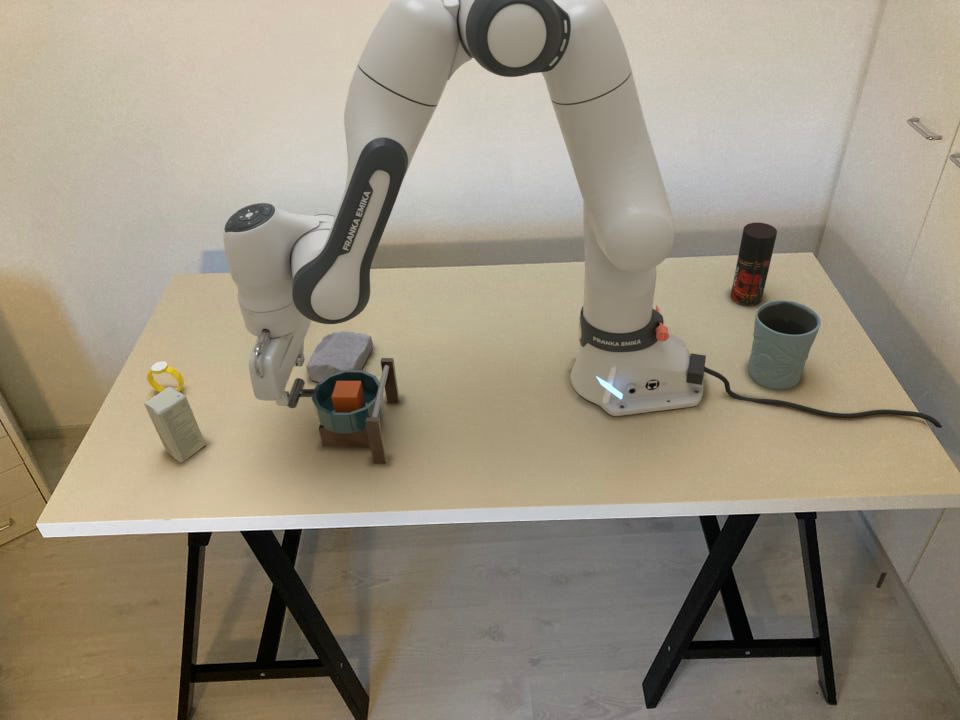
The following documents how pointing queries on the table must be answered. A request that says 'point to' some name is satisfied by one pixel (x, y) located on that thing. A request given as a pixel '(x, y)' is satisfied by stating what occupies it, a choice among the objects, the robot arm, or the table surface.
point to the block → (347, 396)
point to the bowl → (324, 403)
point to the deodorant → (753, 263)
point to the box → (175, 423)
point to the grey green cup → (781, 343)
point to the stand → (367, 423)
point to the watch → (161, 368)
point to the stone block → (339, 354)
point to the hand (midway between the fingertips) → (291, 382)
